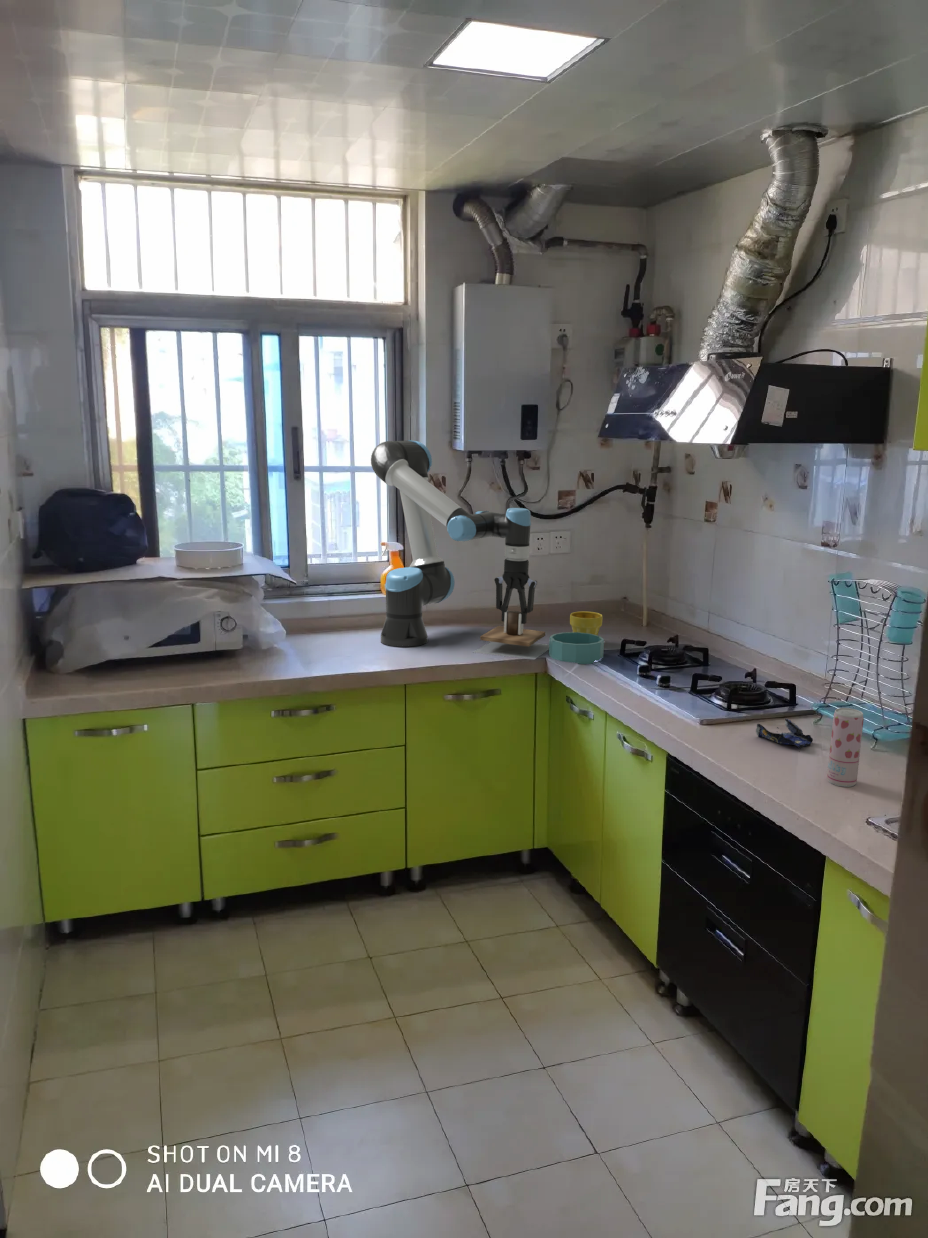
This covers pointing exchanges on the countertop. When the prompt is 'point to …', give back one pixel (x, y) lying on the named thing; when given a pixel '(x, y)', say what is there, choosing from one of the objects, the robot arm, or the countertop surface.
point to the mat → (514, 650)
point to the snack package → (786, 735)
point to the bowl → (576, 647)
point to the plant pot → (586, 622)
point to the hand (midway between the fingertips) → (513, 632)
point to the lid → (513, 633)
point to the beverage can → (845, 747)
